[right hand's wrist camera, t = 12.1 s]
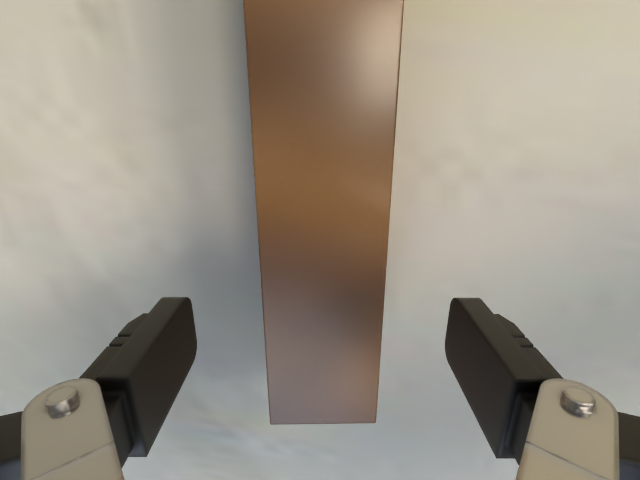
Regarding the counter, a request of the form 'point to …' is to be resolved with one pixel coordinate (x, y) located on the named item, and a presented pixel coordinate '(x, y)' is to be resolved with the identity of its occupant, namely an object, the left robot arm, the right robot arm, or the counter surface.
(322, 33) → the post
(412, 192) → the counter surface
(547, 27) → the counter surface
